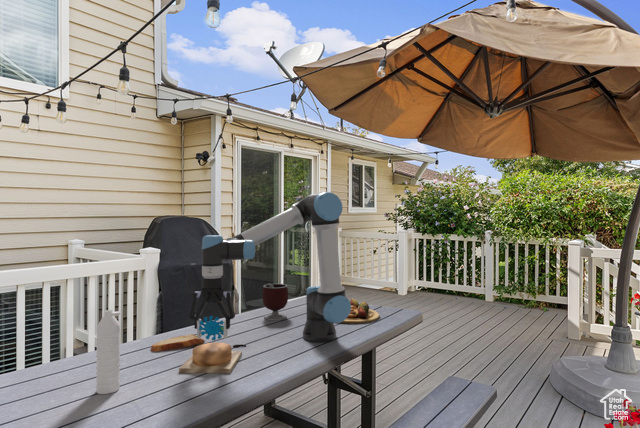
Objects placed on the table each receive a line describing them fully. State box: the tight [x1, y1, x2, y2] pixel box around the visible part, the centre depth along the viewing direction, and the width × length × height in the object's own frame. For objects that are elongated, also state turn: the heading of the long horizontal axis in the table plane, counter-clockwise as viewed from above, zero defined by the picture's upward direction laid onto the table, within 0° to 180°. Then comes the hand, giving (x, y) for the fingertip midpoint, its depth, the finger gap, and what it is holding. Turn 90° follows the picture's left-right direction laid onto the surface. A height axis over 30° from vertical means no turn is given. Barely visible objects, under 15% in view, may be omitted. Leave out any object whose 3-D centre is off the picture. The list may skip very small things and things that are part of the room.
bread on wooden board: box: [178, 342, 243, 374], centre depth 147 cm, size 18×18×6 cm
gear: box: [199, 315, 224, 342], centre depth 149 cm, size 11×6×10 cm
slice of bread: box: [150, 333, 205, 353], centre depth 168 cm, size 18×18×4 cm
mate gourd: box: [261, 282, 289, 321], centre depth 214 cm, size 16×14×20 cm
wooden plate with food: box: [339, 298, 381, 325], centre depth 217 cm, size 32×32×8 cm
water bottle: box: [95, 309, 121, 395], centre depth 124 cm, size 9×6×25 cm
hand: (212, 337), depth 147 cm, fingers closed on gear, 9 cm apart
